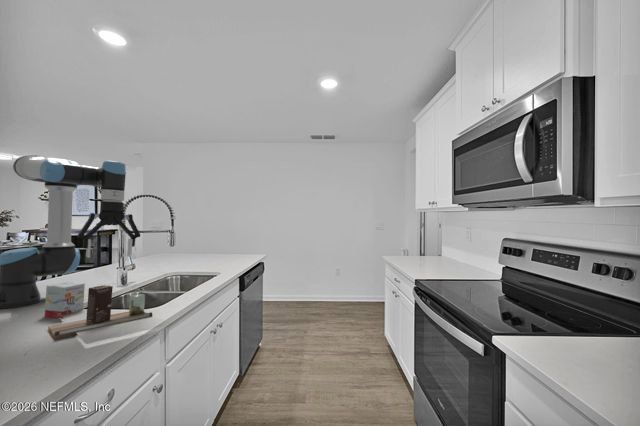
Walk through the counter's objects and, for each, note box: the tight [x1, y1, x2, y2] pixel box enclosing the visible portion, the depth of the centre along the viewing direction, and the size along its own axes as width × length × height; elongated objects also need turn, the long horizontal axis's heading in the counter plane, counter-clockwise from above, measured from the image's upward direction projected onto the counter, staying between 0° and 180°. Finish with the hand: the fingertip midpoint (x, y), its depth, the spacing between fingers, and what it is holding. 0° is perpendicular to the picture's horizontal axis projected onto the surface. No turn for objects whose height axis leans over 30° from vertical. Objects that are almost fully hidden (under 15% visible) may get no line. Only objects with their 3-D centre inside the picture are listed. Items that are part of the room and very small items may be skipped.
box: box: [85, 284, 113, 324], centre depth 109 cm, size 6×4×12 cm
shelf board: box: [47, 311, 153, 341], centre depth 108 cm, size 12×28×2 cm, turn 139°
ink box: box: [44, 281, 86, 319], centre depth 118 cm, size 9×9×12 cm
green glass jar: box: [128, 293, 146, 316], centre depth 118 cm, size 5×5×7 cm
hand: (109, 256), depth 118 cm, fingers open, 13 cm apart
